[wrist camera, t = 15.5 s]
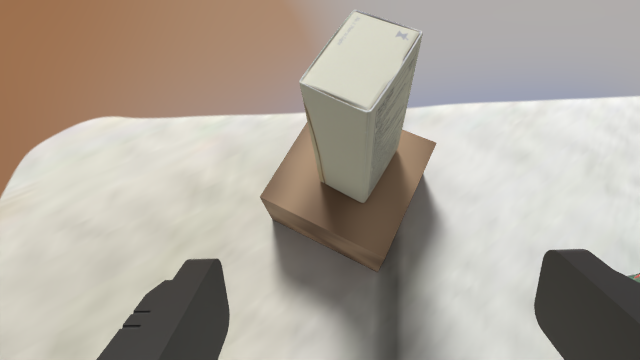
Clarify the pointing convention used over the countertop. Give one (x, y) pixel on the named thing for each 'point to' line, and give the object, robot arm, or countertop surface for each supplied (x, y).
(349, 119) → the skincare box
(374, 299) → the countertop surface
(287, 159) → the walnut block
